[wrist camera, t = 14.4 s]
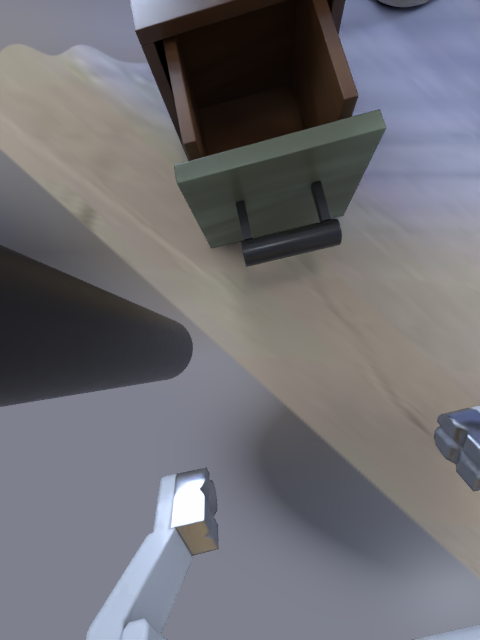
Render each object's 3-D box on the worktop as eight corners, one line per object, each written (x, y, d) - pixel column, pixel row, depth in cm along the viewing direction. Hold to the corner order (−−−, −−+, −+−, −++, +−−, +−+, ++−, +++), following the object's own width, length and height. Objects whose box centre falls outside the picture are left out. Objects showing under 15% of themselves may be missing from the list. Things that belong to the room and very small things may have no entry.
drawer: (357, 264, 22) (412, 201, 14) (220, 295, 23) (190, 255, 14) (304, 83, 25) (321, -62, 17) (185, 117, 26) (142, -4, 17)
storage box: (319, 126, 25) (353, -38, 15) (188, 161, 26) (135, 30, 16) (283, 4, 28) (291, -209, 17) (165, 41, 29) (105, -140, 18)
